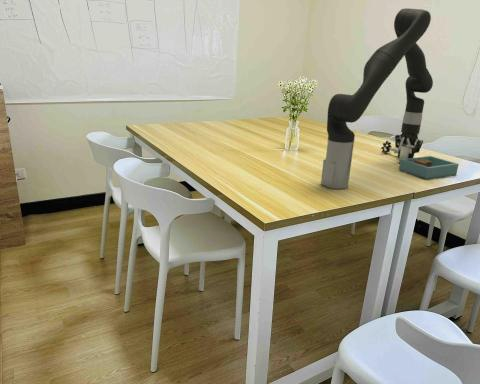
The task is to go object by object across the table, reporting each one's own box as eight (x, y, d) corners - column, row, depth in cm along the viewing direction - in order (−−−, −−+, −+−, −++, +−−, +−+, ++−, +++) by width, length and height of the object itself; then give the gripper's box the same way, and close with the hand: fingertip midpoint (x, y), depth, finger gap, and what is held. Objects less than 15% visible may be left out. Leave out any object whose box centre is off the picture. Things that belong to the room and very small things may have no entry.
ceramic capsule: (404, 163, 173) (407, 148, 171) (396, 160, 178) (398, 145, 175) (412, 162, 176) (415, 147, 173) (404, 159, 180) (406, 145, 177)
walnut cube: (421, 174, 159) (424, 162, 158) (412, 171, 163) (414, 159, 162) (430, 173, 161) (432, 161, 160) (420, 170, 166) (422, 158, 164)
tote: (426, 180, 155) (428, 168, 153) (398, 170, 167) (400, 159, 165) (456, 175, 162) (458, 163, 161) (428, 166, 174) (430, 155, 172)
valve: (409, 158, 187) (388, 153, 197) (411, 145, 185) (391, 140, 195) (400, 160, 184) (380, 154, 194) (402, 146, 182) (382, 141, 192)
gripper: (393, 120, 175) (386, 156, 181) (419, 125, 163) (411, 164, 169) (405, 119, 178) (398, 155, 184) (431, 124, 166) (423, 163, 172)
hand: (404, 159), depth 176 cm, fingers closed on ceramic capsule, 5 cm apart
